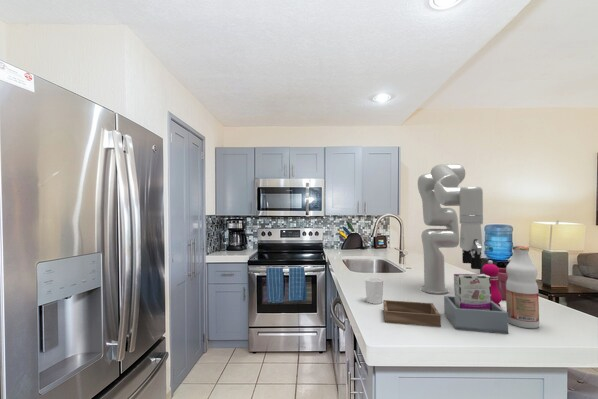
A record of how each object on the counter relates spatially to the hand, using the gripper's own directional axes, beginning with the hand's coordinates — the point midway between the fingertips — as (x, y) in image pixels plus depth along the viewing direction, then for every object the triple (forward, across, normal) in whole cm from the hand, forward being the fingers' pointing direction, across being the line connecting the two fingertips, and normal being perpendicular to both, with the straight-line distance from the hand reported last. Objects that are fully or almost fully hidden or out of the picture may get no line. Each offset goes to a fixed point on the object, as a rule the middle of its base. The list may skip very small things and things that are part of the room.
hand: (471, 265), depth 109 cm
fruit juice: (+21, -2, +17) cm, 27 cm away
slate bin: (+21, +1, 0) cm, 21 cm away
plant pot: (+22, -36, +25) cm, 49 cm away
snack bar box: (+20, +1, 0) cm, 20 cm away
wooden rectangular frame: (+21, +1, -22) cm, 30 cm away
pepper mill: (+21, -19, +13) cm, 31 cm away
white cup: (+22, -16, -35) cm, 44 cm away
